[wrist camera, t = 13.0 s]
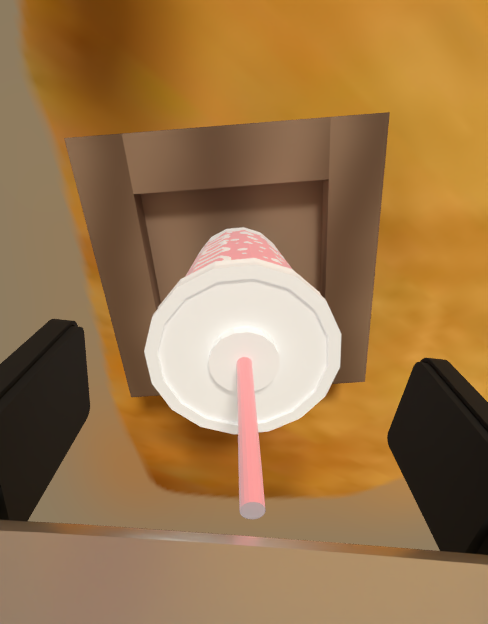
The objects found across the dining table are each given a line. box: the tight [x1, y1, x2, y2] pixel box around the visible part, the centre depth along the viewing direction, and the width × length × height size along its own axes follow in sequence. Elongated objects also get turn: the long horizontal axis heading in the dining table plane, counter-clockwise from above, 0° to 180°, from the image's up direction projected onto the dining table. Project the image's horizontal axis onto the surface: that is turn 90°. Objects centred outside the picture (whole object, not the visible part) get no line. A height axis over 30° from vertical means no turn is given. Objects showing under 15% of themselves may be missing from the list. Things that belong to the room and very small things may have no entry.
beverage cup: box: [144, 227, 341, 519], centre depth 13 cm, size 6×6×14 cm
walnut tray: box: [64, 112, 390, 397], centre depth 20 cm, size 14×14×4 cm
